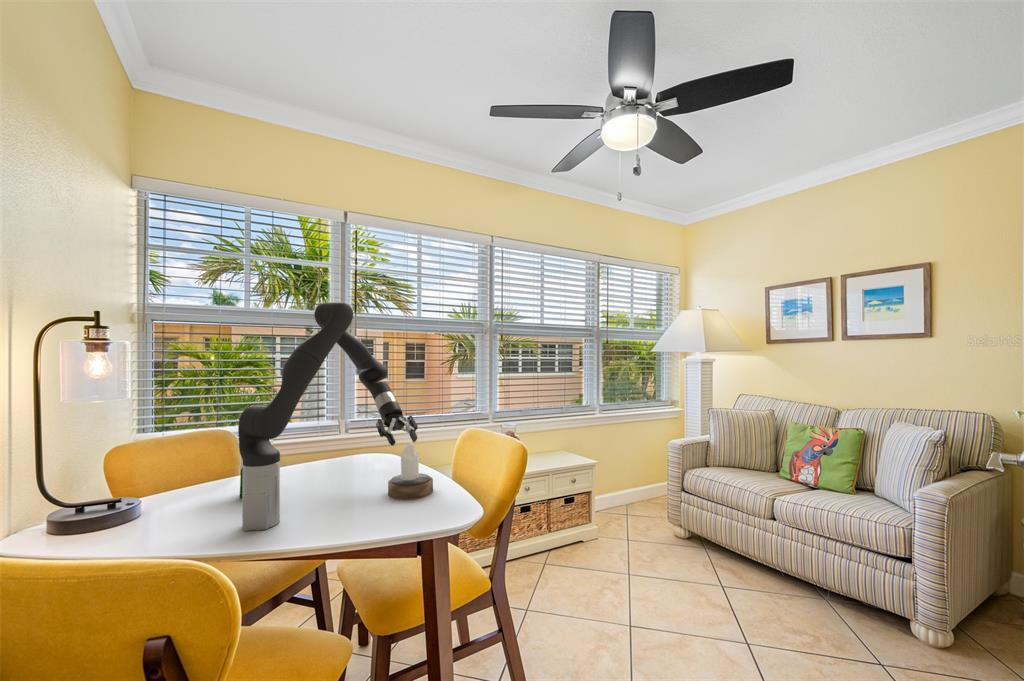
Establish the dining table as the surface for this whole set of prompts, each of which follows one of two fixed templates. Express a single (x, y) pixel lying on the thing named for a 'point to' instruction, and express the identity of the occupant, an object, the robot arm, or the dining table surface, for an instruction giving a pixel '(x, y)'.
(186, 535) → the dining table surface
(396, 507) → the dining table surface
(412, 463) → the white tall rounded piece
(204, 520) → the dining table surface
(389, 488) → the podium
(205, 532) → the dining table surface
